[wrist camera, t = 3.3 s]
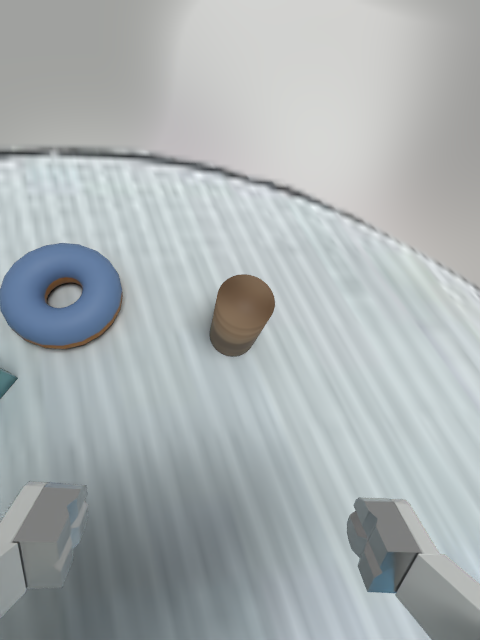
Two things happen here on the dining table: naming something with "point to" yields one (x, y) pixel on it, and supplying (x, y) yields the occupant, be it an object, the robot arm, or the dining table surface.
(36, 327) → the doughnut
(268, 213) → the dining table surface
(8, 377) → the box
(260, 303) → the brown wooden cylinder
